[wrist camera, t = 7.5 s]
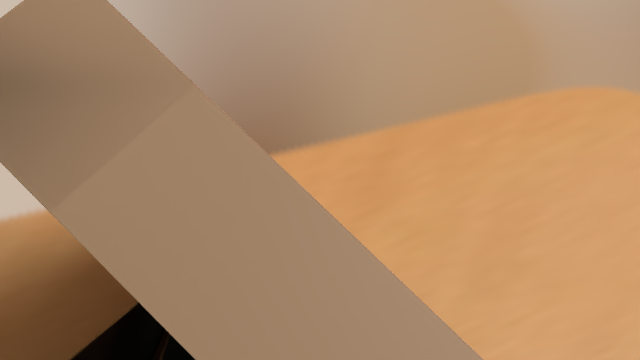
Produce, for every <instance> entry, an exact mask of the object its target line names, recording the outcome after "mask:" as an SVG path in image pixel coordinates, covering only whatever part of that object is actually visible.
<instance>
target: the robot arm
mask: <svg viewBox="0 0 640 360" xmlns="http://www.w3.org/2000/svg"><path fill="white" fill-rule="evenodd" d="M68 360H195V359H194V358H193V357H192V356H191V355H190V354H189V353H188V352H187V351H186V350H185V349H184V347H183V346H182V345H181V344H180V343H179V342H178V341H177V340H176V339H175V338H174V337H173V336H172V335H171V334H170V333H169V332H168V331H167V330H166V329H165V328H164V327H163V326H162V325H161V324H160V323H159V322H158V321H157V320H156V319H155V318H154V317H153V316H152V315H151V314H150V313H149V312H148V311H147V310H146V309H145V308H144V307H143V306H142V305H141V304H140V303H139V302H138V303H136V304H135V305H134V306H133V307H131V308H130V309H129V310H128V311H127V312H125V313H124V314H123V315H122V316H120V317H119V318H118V319H117V320H116V321H114V322H113V323H112V324H111V325H109V326H108V327H107V328H106V329H105V330H103V331H102V332H101V333H100V334H99V335H97V336H96V337H95V338H94V339H92V340H91V341H90V342H89V343H88V344H86V345H85V346H84V347H83V348H81V349H80V350H79V351H78V352H77V353H75V354H74V355H73V356H72V357H70V358H69V359H68Z"/></svg>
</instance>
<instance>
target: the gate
mask: <svg viewBox="0 0 640 360" xmlns="http://www.w3.org/2000/svg"><path fill="white" fill-rule="evenodd" d="M0 162H1V163H2V164H3V165H4V166H5V167H6V168H7V169H8V170H9V171H10V172H11V173H12V175H13V176H14V177H16V178H17V180H18V181H19V182H20V183H21V184H22V185H23V186H24V187H25V188H26V189H27V190H28V191H30V193H31V194H32V195H33V196H35V198H36V199H37V200H38V201H39V202H40V203H41V204H42V205H43V206H44V207H45V208H46V209H47V210H48V211H49V212H50V213H51V214H52V215H53V216H54V217H55V218H56V219H57V220H58V221H59V222H60V223H61V224H62V225H63V226H64V227H65V228H66V229H67V230H68V231H69V232H70V233H71V234H72V235H73V236H74V237H75V238H76V239H77V240H78V241H79V242H80V243H81V244H82V245H83V246H84V247H85V248H86V249H87V250H88V251H89V252H90V253H91V254H92V255H93V256H94V257H95V258H96V259H97V260H98V262H99V263H100V264H101V265H102V266H103V267H104V268H105V269H106V270H107V271H108V272H109V273H110V274H111V275H112V276H113V277H114V278H115V279H116V280H117V281H118V282H119V283H120V284H121V285H122V286H123V287H124V288H125V289H126V290H127V291H128V292H129V293H130V294H131V295H132V296H133V297H134V298H135V299H136V300H137V301H138V302H139V303H140V304H141V305H142V306H143V307H144V308H145V309H146V310H147V311H148V312H149V313H150V314H151V315H152V316H153V317H154V318H155V319H156V320H157V321H158V322H159V323H160V324H161V325H162V326H163V327H164V328H165V329H166V330H167V331H168V332H169V333H170V334H171V335H172V336H173V337H174V338H175V339H176V340H177V341H178V342H179V343H180V344H181V345H182V346H183V347H184V349H185V350H186V351H187V352H188V353H189V354H190V355H191V356H192V357H193V358H194V359H195V360H483V359H482V358H481V357H480V356H479V355H478V354H477V353H476V352H475V351H474V350H473V349H472V348H471V347H470V346H469V345H467V344H466V343H465V342H464V341H463V340H462V339H461V338H460V337H459V336H458V335H457V334H456V333H455V332H454V331H453V330H452V329H451V328H450V327H449V326H448V325H447V324H445V323H444V322H443V321H442V320H441V319H440V318H439V317H438V316H437V315H436V314H435V313H434V312H433V311H432V310H431V309H430V308H429V307H428V306H427V305H426V304H425V303H423V302H422V301H421V300H420V299H419V298H418V297H417V296H416V295H415V294H414V293H413V292H412V291H411V290H410V289H409V288H408V287H407V286H406V285H405V284H404V283H403V282H401V281H400V280H399V279H398V278H397V277H396V276H395V275H394V274H393V273H392V272H391V271H390V270H389V269H388V268H387V267H386V266H385V265H384V264H383V263H382V262H381V261H379V260H378V259H377V258H376V257H375V256H374V255H373V254H372V253H371V252H370V251H369V250H368V249H367V248H366V247H365V246H364V245H363V244H362V243H361V242H360V241H358V240H357V239H356V238H355V237H354V236H353V235H352V234H351V233H350V232H349V231H348V230H347V229H346V228H345V227H344V226H343V225H342V224H341V223H340V222H339V221H338V220H336V219H335V218H334V217H333V216H332V215H331V214H330V213H329V212H328V211H327V210H326V209H325V208H324V207H323V206H322V205H321V204H320V203H319V202H318V201H317V200H316V199H314V198H313V197H312V196H311V195H310V194H309V193H308V192H307V191H306V190H305V189H304V188H303V187H302V186H301V185H300V184H299V183H298V182H297V181H296V180H295V179H294V178H292V177H291V176H290V175H289V174H288V173H287V172H286V171H285V170H284V169H283V168H282V167H281V166H280V165H279V164H278V163H277V162H276V161H275V160H274V159H273V158H272V157H270V156H269V155H268V154H267V153H266V152H265V151H264V150H263V149H262V148H261V147H260V146H259V145H258V144H257V143H256V142H255V141H254V140H252V139H251V138H250V136H248V135H247V134H246V133H245V132H244V131H243V130H242V129H241V128H240V127H239V126H238V125H237V124H236V123H235V122H234V121H233V120H232V119H231V118H230V117H228V115H226V114H225V113H224V112H223V111H222V110H221V109H220V108H219V107H218V106H217V105H216V104H215V103H214V102H213V101H212V100H211V99H210V98H209V97H207V95H205V94H204V93H203V92H202V91H201V90H200V89H199V88H198V87H197V86H196V85H195V84H194V83H193V82H192V81H191V80H190V79H189V78H188V77H187V76H186V75H184V74H183V73H182V72H181V71H180V70H179V69H178V68H177V67H176V66H175V65H174V64H173V63H172V62H171V61H170V60H169V59H168V58H167V57H165V55H164V54H163V53H161V52H160V51H159V50H158V49H157V48H156V47H155V46H154V45H153V44H152V43H151V42H150V41H149V40H148V39H147V38H146V37H145V36H144V35H143V34H141V33H140V32H139V31H138V30H137V29H136V28H135V27H134V26H133V25H132V24H131V23H130V22H129V21H128V20H127V19H126V18H125V17H124V16H122V14H121V13H120V12H119V11H117V10H116V9H115V8H114V7H113V6H112V5H111V4H110V3H109V2H108V1H107V0H24V1H23V2H21V3H20V4H19V5H17V6H16V7H15V8H13V9H12V10H11V11H10V12H8V13H7V14H5V15H4V16H3V17H2V18H0Z"/></svg>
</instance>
